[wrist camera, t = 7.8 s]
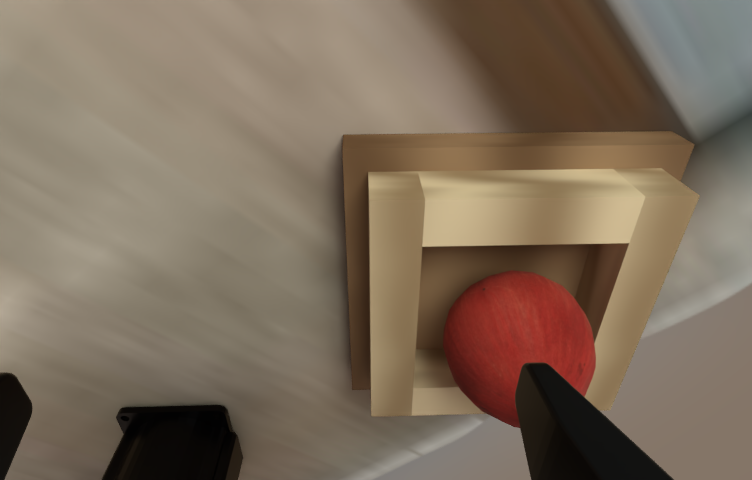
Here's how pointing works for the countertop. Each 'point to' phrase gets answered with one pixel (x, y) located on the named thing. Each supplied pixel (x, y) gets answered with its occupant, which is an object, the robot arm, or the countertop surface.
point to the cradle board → (479, 258)
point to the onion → (515, 338)
